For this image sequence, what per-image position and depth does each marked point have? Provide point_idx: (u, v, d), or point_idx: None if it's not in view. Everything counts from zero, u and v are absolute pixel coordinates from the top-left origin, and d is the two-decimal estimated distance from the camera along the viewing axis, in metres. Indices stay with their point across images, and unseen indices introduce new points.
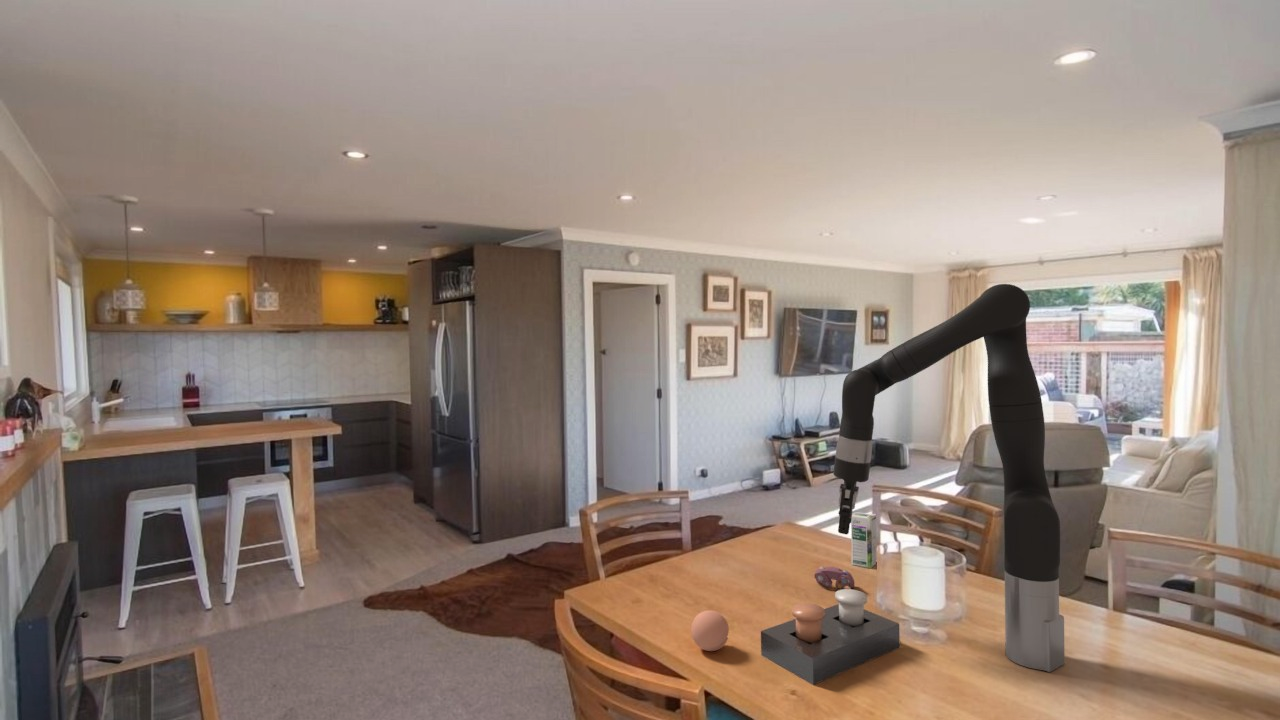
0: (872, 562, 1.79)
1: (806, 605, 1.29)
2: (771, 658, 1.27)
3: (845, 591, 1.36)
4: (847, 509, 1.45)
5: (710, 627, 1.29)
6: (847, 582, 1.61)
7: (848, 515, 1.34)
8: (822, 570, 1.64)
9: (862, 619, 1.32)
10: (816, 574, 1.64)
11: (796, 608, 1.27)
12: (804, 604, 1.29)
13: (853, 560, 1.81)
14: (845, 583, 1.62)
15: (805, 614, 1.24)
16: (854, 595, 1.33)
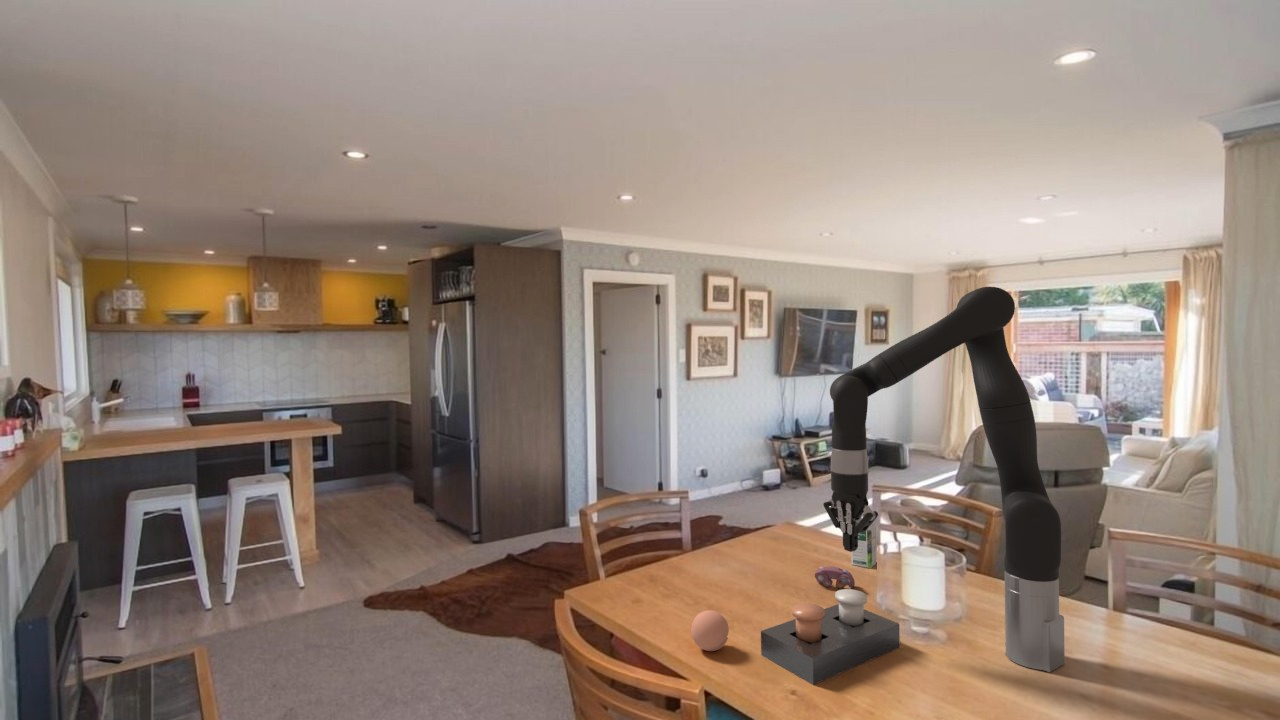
0: (872, 562, 1.79)
1: (806, 605, 1.29)
2: (771, 658, 1.27)
3: (845, 591, 1.36)
4: None
5: (710, 627, 1.29)
6: (847, 582, 1.62)
7: (864, 530, 1.31)
8: (822, 570, 1.64)
9: (862, 619, 1.32)
10: (816, 574, 1.65)
11: (796, 608, 1.27)
12: (804, 604, 1.29)
13: (853, 560, 1.81)
14: (845, 583, 1.62)
15: (805, 614, 1.24)
16: (854, 595, 1.33)
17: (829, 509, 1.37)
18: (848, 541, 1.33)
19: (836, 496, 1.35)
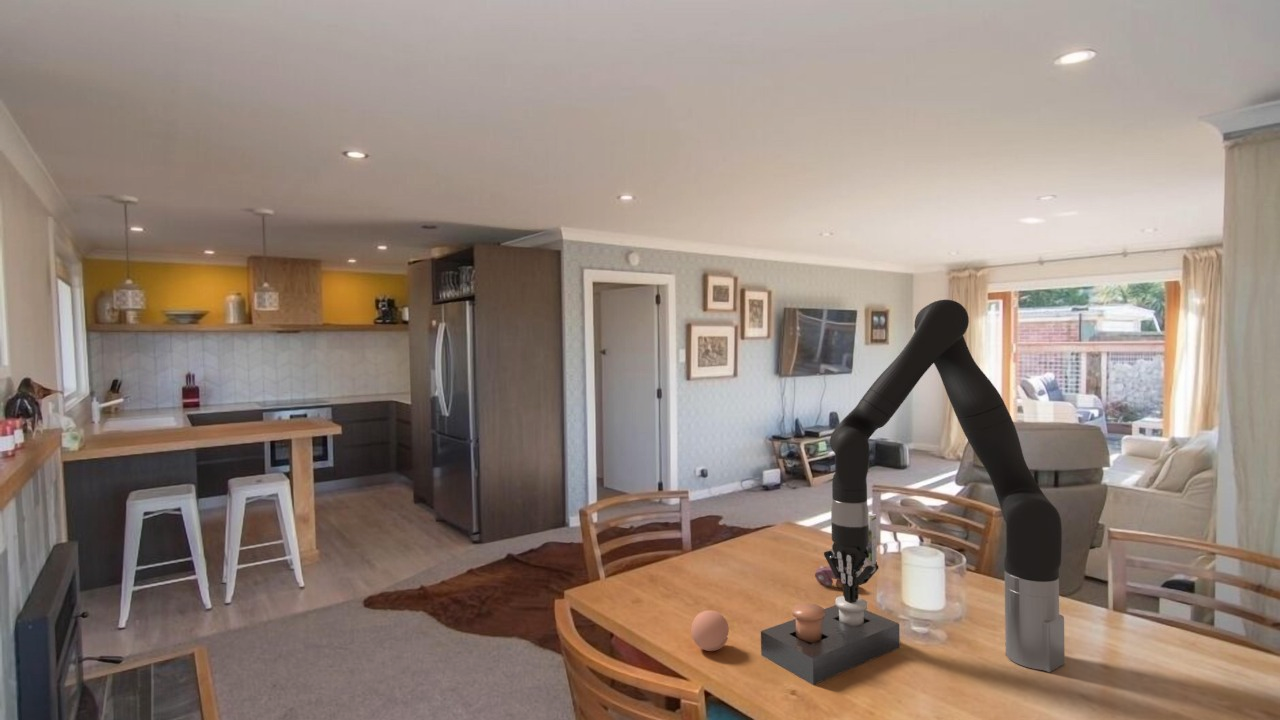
0: (872, 562, 1.79)
1: (806, 605, 1.29)
2: (771, 658, 1.27)
3: None
4: None
5: (710, 627, 1.29)
6: None
7: (865, 582, 1.31)
8: (823, 569, 1.64)
9: None
10: (817, 573, 1.65)
11: (796, 608, 1.27)
12: (804, 604, 1.29)
13: None
14: None
15: (805, 614, 1.24)
16: (854, 602, 1.33)
17: (829, 559, 1.37)
18: (848, 592, 1.33)
19: (837, 546, 1.35)
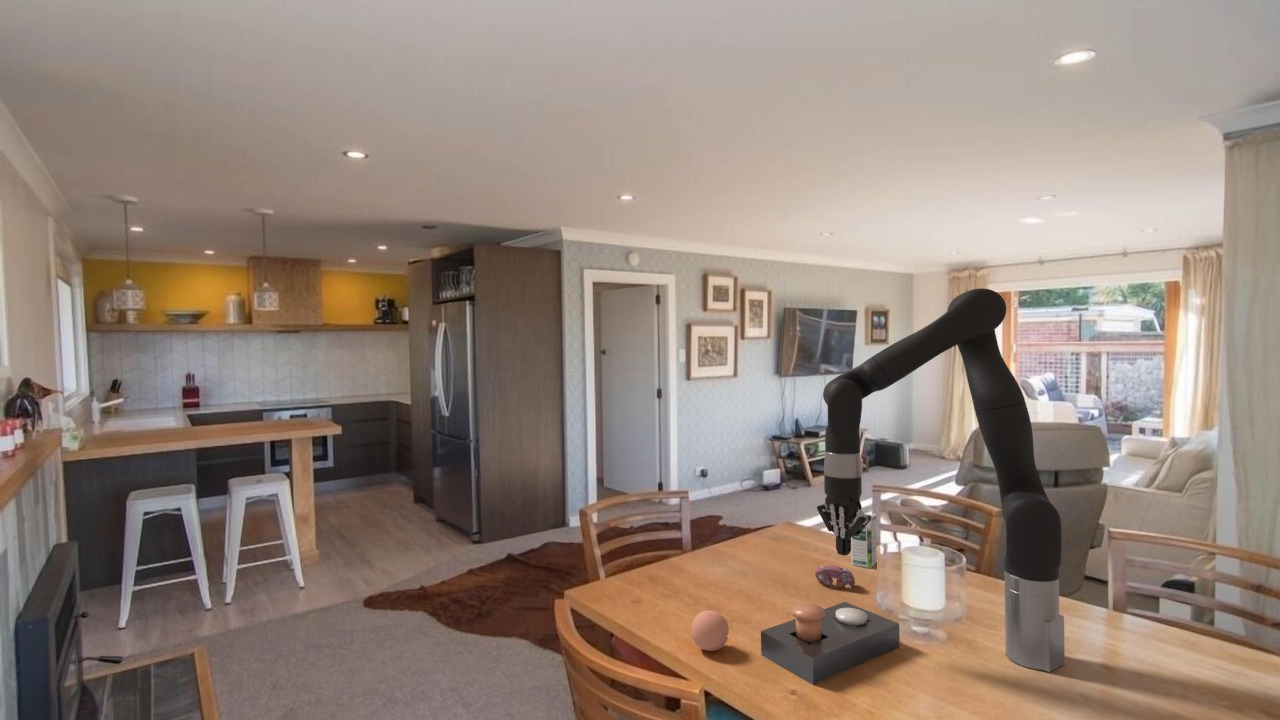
0: (872, 562, 1.79)
1: (806, 605, 1.29)
2: (771, 658, 1.27)
3: (845, 609, 1.36)
4: None
5: (710, 627, 1.29)
6: (848, 581, 1.62)
7: (857, 534, 1.31)
8: (823, 569, 1.65)
9: None
10: (817, 573, 1.65)
11: (796, 608, 1.27)
12: (804, 604, 1.29)
13: (853, 560, 1.81)
14: (846, 582, 1.63)
15: (805, 614, 1.24)
16: (854, 614, 1.33)
17: (822, 512, 1.36)
18: (841, 545, 1.32)
19: (829, 499, 1.34)
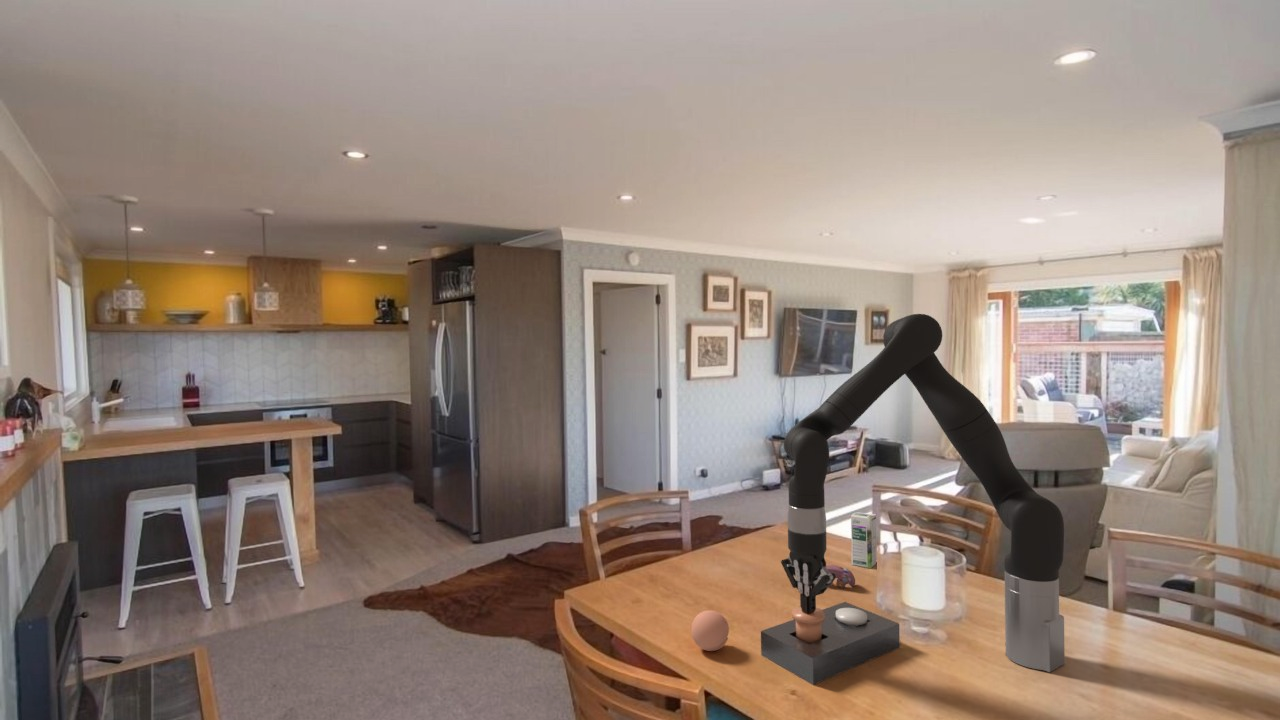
0: (872, 562, 1.79)
1: None
2: (771, 658, 1.27)
3: (845, 609, 1.36)
4: None
5: (710, 627, 1.29)
6: (848, 580, 1.63)
7: (822, 592, 1.24)
8: None
9: None
10: None
11: (796, 611, 1.27)
12: None
13: (853, 560, 1.81)
14: (846, 581, 1.63)
15: (805, 617, 1.24)
16: (854, 614, 1.33)
17: (787, 567, 1.30)
18: (805, 603, 1.26)
19: (793, 554, 1.28)
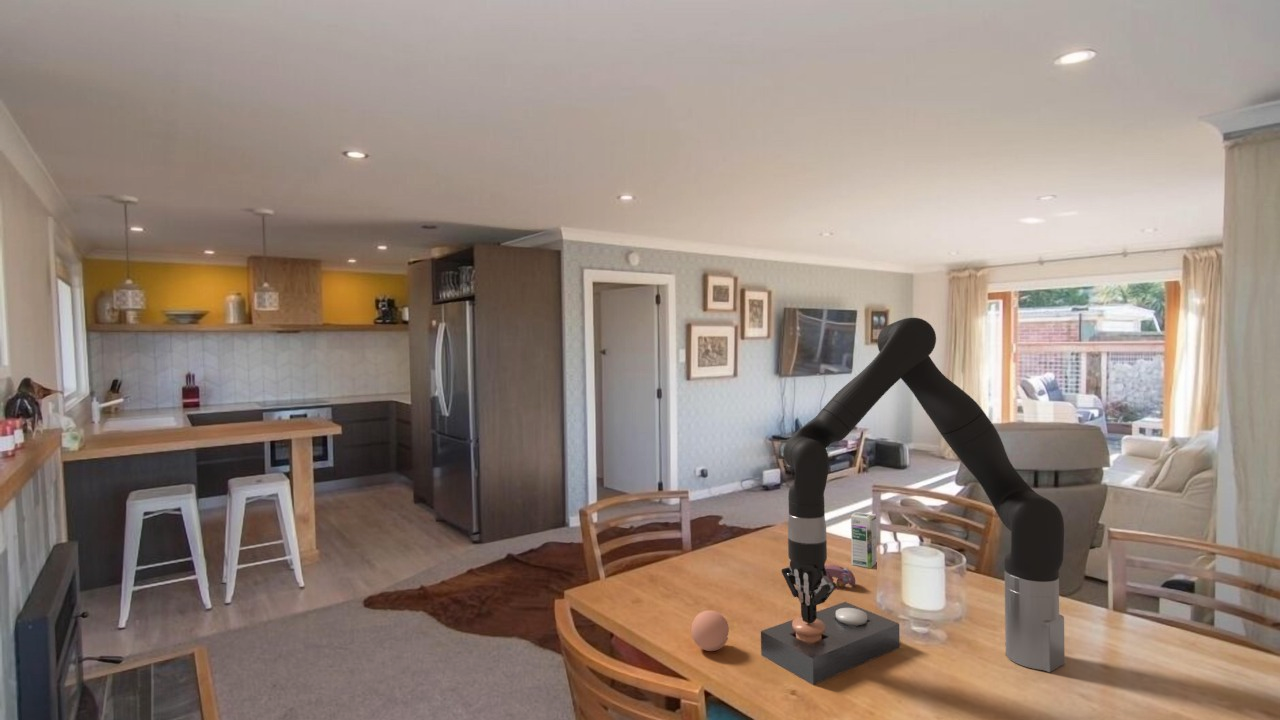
0: (872, 562, 1.79)
1: None
2: (771, 658, 1.27)
3: (845, 609, 1.36)
4: None
5: (710, 627, 1.29)
6: (848, 580, 1.63)
7: (823, 601, 1.24)
8: None
9: None
10: None
11: (796, 622, 1.27)
12: None
13: (853, 560, 1.81)
14: (846, 581, 1.63)
15: (805, 629, 1.24)
16: (854, 614, 1.33)
17: (787, 576, 1.30)
18: (806, 612, 1.26)
19: (794, 564, 1.28)
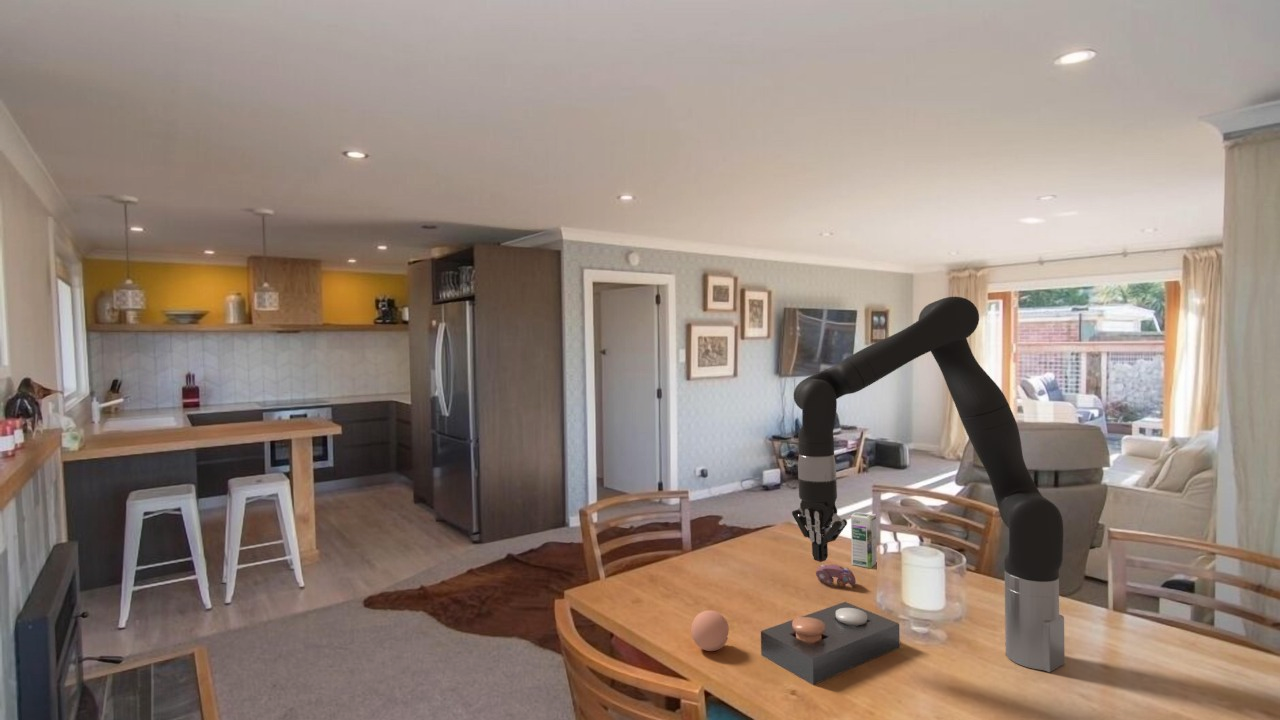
0: (872, 562, 1.79)
1: (806, 619, 1.29)
2: (771, 658, 1.27)
3: (845, 609, 1.36)
4: None
5: (710, 627, 1.29)
6: (848, 580, 1.63)
7: (834, 539, 1.26)
8: (823, 568, 1.65)
9: None
10: (818, 572, 1.66)
11: (796, 622, 1.27)
12: (804, 618, 1.29)
13: (853, 560, 1.81)
14: (846, 581, 1.63)
15: (805, 629, 1.24)
16: (854, 614, 1.33)
17: (798, 518, 1.32)
18: (817, 551, 1.28)
19: (804, 504, 1.30)
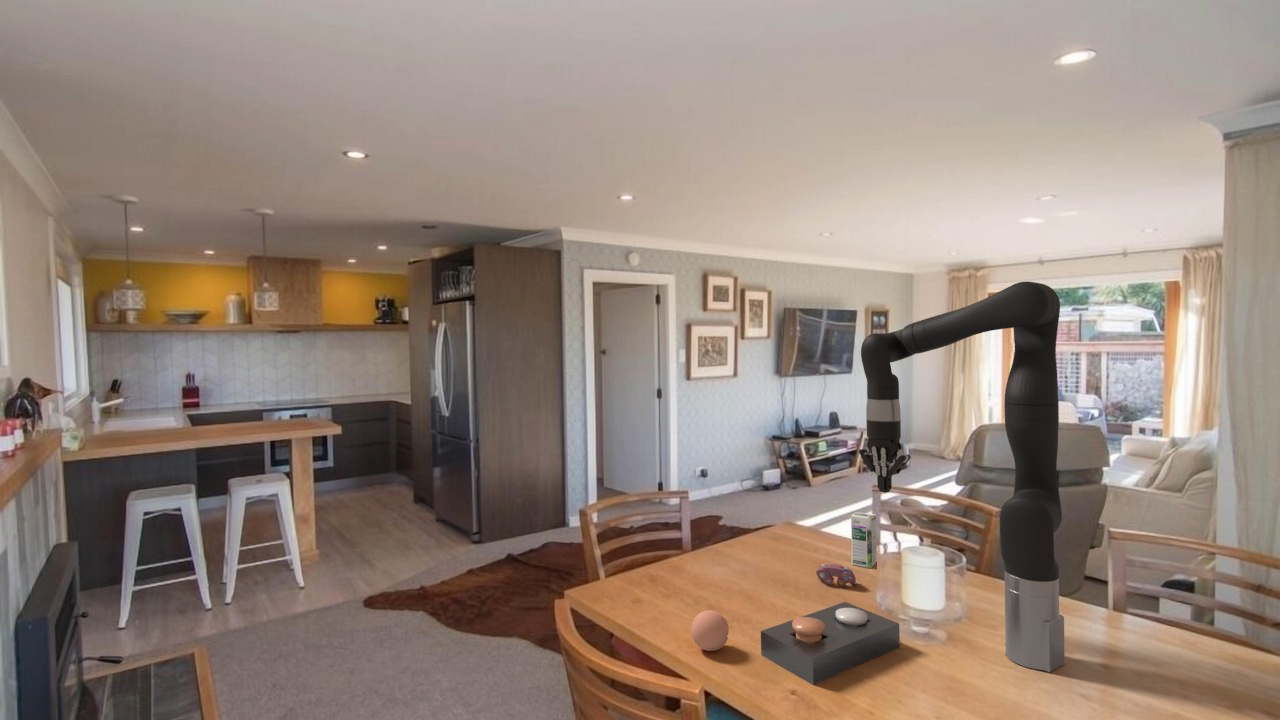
0: (872, 562, 1.79)
1: (806, 619, 1.29)
2: (771, 658, 1.27)
3: (845, 609, 1.36)
4: None
5: (710, 627, 1.29)
6: (849, 579, 1.63)
7: (897, 472, 1.45)
8: (824, 567, 1.66)
9: None
10: (818, 571, 1.67)
11: (796, 622, 1.27)
12: (804, 618, 1.29)
13: (853, 560, 1.81)
14: (847, 580, 1.64)
15: (805, 629, 1.24)
16: (854, 614, 1.33)
17: (864, 455, 1.50)
18: (883, 483, 1.46)
19: (871, 443, 1.49)
